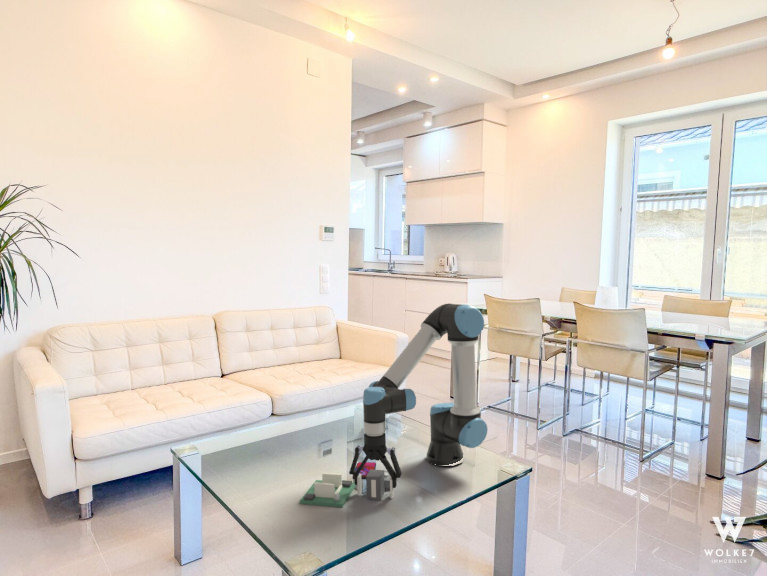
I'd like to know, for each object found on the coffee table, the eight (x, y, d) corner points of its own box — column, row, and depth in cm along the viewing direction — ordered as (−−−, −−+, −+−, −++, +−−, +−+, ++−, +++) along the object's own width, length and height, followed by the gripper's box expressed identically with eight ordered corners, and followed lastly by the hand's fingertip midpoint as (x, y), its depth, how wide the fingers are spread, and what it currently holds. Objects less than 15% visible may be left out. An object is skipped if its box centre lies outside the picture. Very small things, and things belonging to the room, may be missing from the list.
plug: (384, 492, 170) (384, 470, 170) (380, 500, 164) (380, 477, 164) (370, 491, 171) (370, 469, 171) (366, 499, 165) (366, 476, 165)
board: (355, 486, 175) (355, 470, 175) (342, 507, 159) (342, 490, 159) (316, 483, 178) (315, 468, 178) (299, 503, 163) (299, 487, 162)
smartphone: (376, 462, 196) (372, 477, 181) (376, 464, 196) (373, 479, 181) (357, 462, 197) (352, 477, 182) (357, 464, 197) (352, 479, 182)
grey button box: (397, 479, 180) (397, 470, 180) (393, 489, 172) (393, 479, 172) (376, 478, 182) (376, 468, 182) (371, 487, 174) (371, 477, 174)
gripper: (409, 430, 168) (410, 493, 169) (345, 427, 173) (346, 487, 173) (406, 438, 161) (407, 503, 161) (339, 434, 165) (340, 497, 166)
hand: (375, 495), depth 167 cm, fingers open, 11 cm apart
